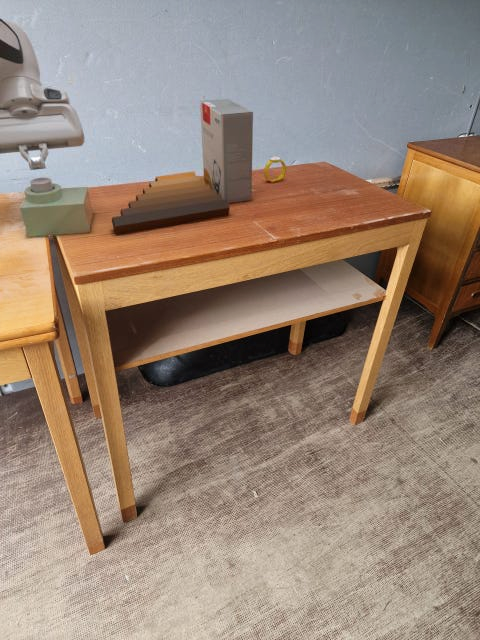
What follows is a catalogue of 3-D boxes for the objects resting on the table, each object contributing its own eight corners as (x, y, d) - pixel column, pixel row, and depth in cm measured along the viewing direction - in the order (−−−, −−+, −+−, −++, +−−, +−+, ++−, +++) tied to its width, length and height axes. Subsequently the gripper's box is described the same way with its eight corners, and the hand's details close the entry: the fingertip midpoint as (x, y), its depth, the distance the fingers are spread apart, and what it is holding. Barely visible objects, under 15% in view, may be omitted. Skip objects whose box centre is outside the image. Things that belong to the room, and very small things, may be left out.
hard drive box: (203, 184, 116) (199, 100, 104) (230, 180, 118) (229, 98, 106) (222, 205, 104) (220, 113, 92) (252, 200, 106) (254, 110, 94)
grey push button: (31, 194, 88) (28, 184, 87) (34, 188, 91) (31, 178, 90) (52, 193, 88) (49, 183, 87) (55, 186, 92) (52, 177, 90)
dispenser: (28, 237, 90) (16, 198, 85) (36, 218, 97) (26, 181, 93) (89, 232, 91) (81, 194, 87) (92, 213, 99) (85, 178, 95)
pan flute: (116, 236, 90) (229, 216, 98) (114, 220, 88) (229, 201, 96) (96, 196, 108) (192, 182, 117) (93, 182, 106) (192, 169, 115)
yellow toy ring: (281, 177, 120) (282, 155, 116) (287, 180, 118) (288, 157, 114) (262, 181, 118) (263, 158, 114) (267, 184, 116) (268, 161, 112)
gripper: (-40, 97, 83) (-26, 165, 81) (74, 91, 89) (89, 154, 87) (-29, 118, 89) (-16, 182, 87) (77, 111, 95) (91, 170, 93)
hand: (37, 167), depth 87 cm, fingers closed
